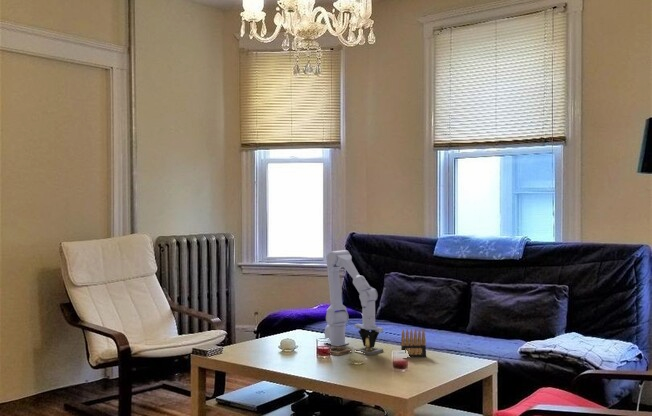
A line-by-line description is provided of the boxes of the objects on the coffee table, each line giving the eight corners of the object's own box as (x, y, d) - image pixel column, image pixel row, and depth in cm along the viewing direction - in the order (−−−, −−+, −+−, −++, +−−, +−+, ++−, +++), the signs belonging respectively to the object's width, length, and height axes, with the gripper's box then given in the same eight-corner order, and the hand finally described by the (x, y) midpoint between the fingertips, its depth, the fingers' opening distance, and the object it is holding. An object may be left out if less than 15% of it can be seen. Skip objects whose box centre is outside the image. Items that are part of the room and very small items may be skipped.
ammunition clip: (425, 356, 283) (425, 328, 283) (426, 357, 281) (426, 329, 281) (400, 356, 283) (400, 328, 282) (401, 357, 281) (401, 329, 281)
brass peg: (363, 352, 291) (363, 337, 291) (368, 350, 294) (368, 336, 294) (369, 353, 289) (369, 338, 289) (374, 351, 291) (373, 337, 291)
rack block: (322, 352, 291) (322, 349, 291) (336, 349, 298) (336, 346, 298) (337, 355, 285) (337, 353, 285) (351, 352, 291) (351, 349, 291)
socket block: (354, 352, 291) (354, 349, 291) (367, 348, 298) (367, 346, 298) (370, 355, 285) (370, 352, 285) (383, 351, 292) (383, 349, 292)
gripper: (350, 315, 293) (350, 345, 294) (375, 319, 283) (375, 350, 283) (360, 313, 298) (361, 342, 299) (385, 317, 288) (386, 347, 289)
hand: (368, 346), depth 291 cm, fingers closed on brass peg, 3 cm apart
